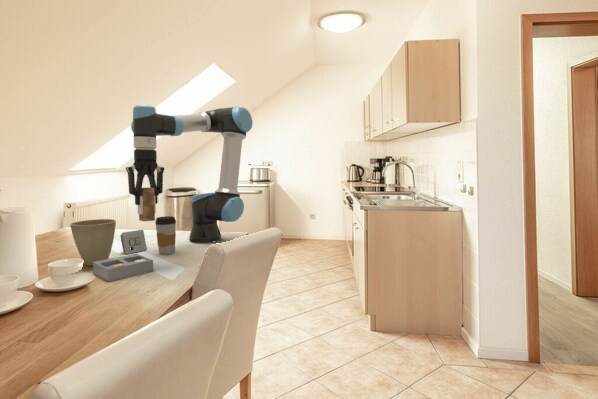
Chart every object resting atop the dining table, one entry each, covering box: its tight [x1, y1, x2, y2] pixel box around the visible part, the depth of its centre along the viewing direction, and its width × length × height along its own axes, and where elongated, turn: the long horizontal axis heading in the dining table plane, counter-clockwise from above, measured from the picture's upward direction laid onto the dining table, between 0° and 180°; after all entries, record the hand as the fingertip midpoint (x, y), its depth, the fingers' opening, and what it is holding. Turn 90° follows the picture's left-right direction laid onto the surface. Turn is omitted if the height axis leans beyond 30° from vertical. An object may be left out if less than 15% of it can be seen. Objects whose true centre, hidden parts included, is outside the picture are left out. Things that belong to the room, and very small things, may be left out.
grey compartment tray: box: [92, 253, 154, 282], centre depth 124 cm, size 15×13×4 cm
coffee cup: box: [154, 215, 177, 255], centre depth 151 cm, size 8×8×15 cm
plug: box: [138, 187, 156, 222], centre depth 131 cm, size 4×4×12 cm
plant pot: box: [69, 218, 117, 267], centre depth 135 cm, size 15×15×16 cm
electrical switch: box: [119, 229, 148, 255], centre depth 153 cm, size 9×5×9 cm, turn 141°
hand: (146, 213), depth 131 cm, fingers closed on plug, 4 cm apart
